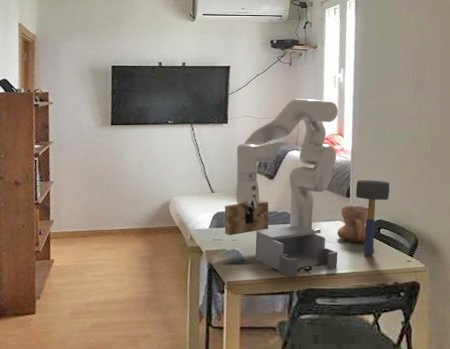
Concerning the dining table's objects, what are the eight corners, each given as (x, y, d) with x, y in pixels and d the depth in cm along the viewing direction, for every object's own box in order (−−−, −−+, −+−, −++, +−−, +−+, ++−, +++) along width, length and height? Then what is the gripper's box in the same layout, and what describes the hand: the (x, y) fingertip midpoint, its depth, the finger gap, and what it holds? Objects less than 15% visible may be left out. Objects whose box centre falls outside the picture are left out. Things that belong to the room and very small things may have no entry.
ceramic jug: (335, 234, 255) (337, 203, 252) (368, 235, 253) (370, 204, 251) (339, 246, 237) (340, 213, 235) (374, 247, 236) (376, 214, 233)
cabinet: (299, 252, 225) (300, 225, 224) (336, 268, 206) (338, 238, 205) (253, 259, 215) (254, 231, 213) (288, 276, 196) (289, 246, 194)
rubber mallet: (384, 254, 226) (389, 180, 221) (384, 259, 219) (390, 183, 214) (352, 251, 229) (357, 178, 224) (352, 256, 222) (356, 180, 217)
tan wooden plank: (263, 227, 228) (263, 200, 226) (269, 229, 224) (269, 202, 222) (225, 233, 219) (224, 205, 217) (230, 236, 216) (230, 208, 214)
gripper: (266, 178, 213) (266, 225, 217) (244, 172, 227) (244, 216, 231) (250, 180, 210) (249, 228, 213) (228, 173, 224) (228, 218, 227)
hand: (246, 221), depth 222 cm, fingers closed on tan wooden plank, 3 cm apart
